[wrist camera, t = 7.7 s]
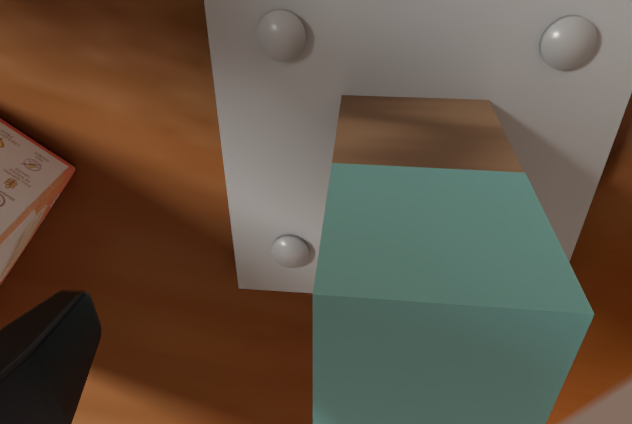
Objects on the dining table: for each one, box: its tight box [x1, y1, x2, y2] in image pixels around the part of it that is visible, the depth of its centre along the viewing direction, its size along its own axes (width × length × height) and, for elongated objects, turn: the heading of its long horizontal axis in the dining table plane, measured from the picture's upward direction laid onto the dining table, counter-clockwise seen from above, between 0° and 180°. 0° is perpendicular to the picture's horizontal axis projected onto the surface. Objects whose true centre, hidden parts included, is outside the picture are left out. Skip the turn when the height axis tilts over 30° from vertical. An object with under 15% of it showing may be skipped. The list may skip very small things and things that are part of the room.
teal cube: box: [313, 163, 594, 424], centre depth 13 cm, size 5×5×5 cm
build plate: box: [204, 0, 632, 293], centre depth 19 cm, size 14×14×1 cm
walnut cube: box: [332, 95, 524, 172], centre depth 17 cm, size 5×5×5 cm
